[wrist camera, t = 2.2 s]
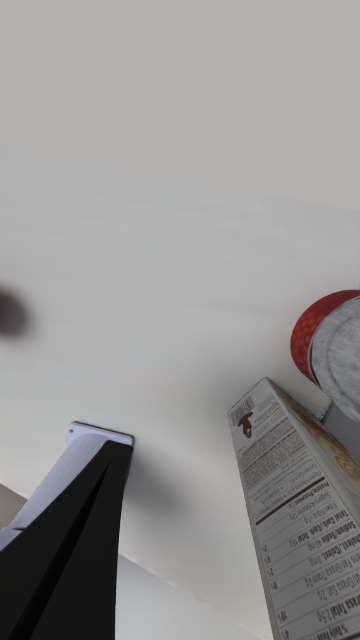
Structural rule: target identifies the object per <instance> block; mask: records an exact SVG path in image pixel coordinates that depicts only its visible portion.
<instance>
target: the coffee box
mask: <svg viewBox="0 0 360 640" xmlns="http://www.w3.org/2000/svg"><path fill="white" fill-rule="evenodd" d="M228 419H229V424H230V428H231V433H232V438H233V443H234V448H235V453H236V458H237V462H238V468H239V472H240V478H241V482H242V487H243V491H244V497H245V501H246V507H247V512H248V516H249V521H250V526H251V531H252V536H253V540H254V545H255V550H256V555H257V560H258V564H259V569H260V574H261V579H262V583H263V588H264V593H265V598H266V603H267V608H268V613H269V618H270V623H271V628H272V633H273V638H274V640H360V464H359V463H358V462H357V461H356V459H355V458H354V457H353V456H352V455H351V454H350V453H349V451H348V450H347V449H346V448H345V447H344V446H343V445H342V443H341V442H340V441H339V440H338V439H337V438H336V437H335V436H334V435H333V434H332V432H331V431H330V430H329V429H328V428H327V427H326V426H325V425H323V424H322V423H321V422H320V421H318V420H317V419H316V418H315V417H314V416H312V415H311V414H310V413H309V412H307V411H306V410H305V409H304V408H303V407H301V406H300V405H299V404H298V403H296V402H295V401H294V400H293V399H292V398H290V397H289V396H288V395H287V394H286V393H284V392H283V391H282V390H281V389H279V388H278V387H277V386H276V385H275V384H273V383H272V382H271V381H270V380H268V379H267V378H264V379H262V380H261V381H260V382H259V383H258V384H257V385H256V386H255V387H254V388H253V389H252V390H251V391H250V392H249V393H248V394H247V395H246V396H244V397H243V398H242V399H241V400H240V401H239V402H238V403H237V404H236V405H235V406H234V407H233V408H232V409H231V410H230V411H229V412H228Z"/></svg>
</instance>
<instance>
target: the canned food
mask: <svg viewBox="0 0 360 640" xmlns="http://www.w3.org/2000/svg"><path fill="white" fill-rule="evenodd" d="M290 349H291V354H292V358H293V360H294V363H295V365H296V366H297V367H298V369H299V370H300V371H301V372H302V373H303V374H304V375H305V376H306V377H308V378H309V379H310V380H311V381H312V382H314V383H315V384H316V385H317V386H318V387H319V388H320V389H321V390H322V391H324V392H325V393H326V394H327V395H328V397H329V398H330V399H331V400H332V401H333V402H334V403H335V404H336V405H337V406H338V407H339V409H340V410H341V411H342V412H343V413H344V414H345V415H346V416H348V417H349V418H351V419H352V420H354V421H356V422H357V423H359V424H360V290H344V291H340V292H336V293H332V294H330V295H328V296H325V297H323V298H321V299H320V300H318V301H317V302H315V303H314V304H312V305H311V306H310V307H309V308H308V309H307V310H306V311H305V312H304V313H303V314H302V315H301V317H300V318H299V320H298V321H297V323H296V325H295V327H294V329H293V332H292V336H291V345H290Z"/></svg>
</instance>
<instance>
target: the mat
mask: <svg viewBox="0 0 360 640" xmlns="http://www.w3.org/2000/svg"><path fill="white" fill-rule="evenodd" d="M322 424H323V425H325V426H326V427H327V428H328V429H329V430H330V431H331V432H332V434H333V435H334V436H335V437H336V438H337V439H338V440H339V441H340V442H341V443H342V445H343V446H344V447H345V448H346V449H347V450H348V451H349V453H350V454H351V455H352V456H353V457H354V458H355V459H356V461H357V462H358V463H359V464H360V424H359V423H357V422H356V421H354V420H352V419H351V418H349V417H348V416H346V415H345V414H344V413H343V412H342V411H341V410H340V409H339V407H338V406H337V405H336V404H335V403H334V402H333V401H332V403H331V405H330V407H329V409H328V411H327V413H326V415H325V417H324V419H323V421H322Z"/></svg>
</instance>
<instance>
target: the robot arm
mask: <svg viewBox="0 0 360 640" xmlns="http://www.w3.org/2000/svg"><path fill="white" fill-rule="evenodd" d="M132 441H133V439H132V437H130V436H127V435H123V434H119V433H115V432H111V431H107V430H103V429H99V428H95V427H91V426H87V425H83V424H79V423H75V422H71V423H70V424H69V425H68V434H67V446H66V451H65V452H64V453H63V455H62V456H61V457H60V459H59V460H58V461H57V463H56V464H55V465H54V466H53V468H52V469H51V470H50V472H49V473H48V474H47V476H46V477H45V478H44V480H43V481H42V482H41V484H40V485H39V486H38V488H37V489H36V490H35V492H34V493H33V494H32V496H31V497H30V498H29V500H28V501H27V502H26V504H25V505H24V506H23V508H22V509H21V510H20V512H19V513H18V514H17V516H16V517H15V518H14V520H13V521H12V522H11V524H10V525H9V527H4V528H3V529H2V530H1V532H0V640H115V605H116V579H117V560H118V544H119V531H120V519H121V510H122V501H123V493H124V488H125V484H126V481H127V477H128V474H129V469H130V464H131V458H132V453H133V447H132Z"/></svg>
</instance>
